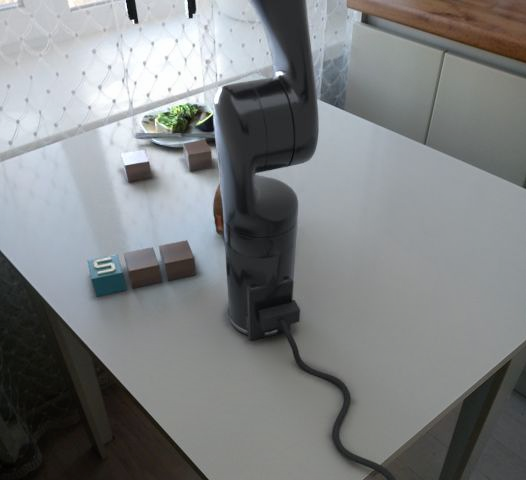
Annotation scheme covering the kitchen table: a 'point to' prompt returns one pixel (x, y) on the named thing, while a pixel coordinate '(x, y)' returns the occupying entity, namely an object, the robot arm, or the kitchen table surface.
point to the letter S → (106, 275)
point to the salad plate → (178, 125)
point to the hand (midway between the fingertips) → (162, 19)
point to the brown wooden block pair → (147, 268)
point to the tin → (218, 212)
